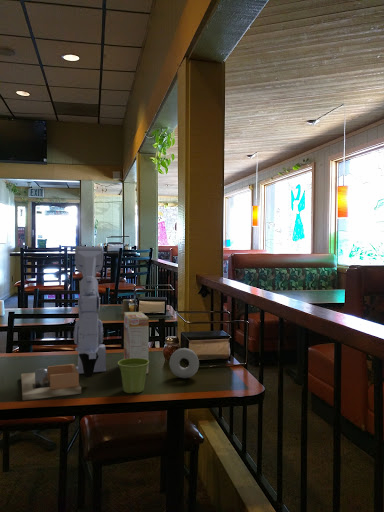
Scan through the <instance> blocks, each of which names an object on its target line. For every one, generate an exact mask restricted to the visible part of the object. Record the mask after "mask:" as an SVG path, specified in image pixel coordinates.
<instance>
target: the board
mask: <svg viewBox="0 0 384 512" xmlns="http://www.w3.org/2000/svg"><path fill="white" fill-rule="evenodd" d="M20 375H21V376H20V377H21V379H20V380H21V396H22V397H21V398H22V401H30V400H38V399H46V398H53V397H62V396H63V397H64V396H70V395H71V396H72V395H78V394H82V386H81V385H80V383H79V386H77V387H69V388H60V389H51V390H50V380H48V387H45V388H36V389H35V372H27V373H21V374H20Z"/></svg>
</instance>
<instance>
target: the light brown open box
mask: <svg viewBox="0 0 384 512" xmlns="http://www.w3.org/2000/svg"><path fill="white" fill-rule="evenodd" d="M76 367H77V366H76V365H75V363H68V364H60V365H59V364H57V365H48V366H47V369H48V380H50V390H51V389H60V388H69V387H77V386H79V384H80V383H79V381H80V374H79V372H78V370H77V369H76Z"/></svg>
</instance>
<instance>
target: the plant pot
mask: <svg viewBox="0 0 384 512" xmlns="http://www.w3.org/2000/svg"><path fill="white" fill-rule="evenodd" d="M149 363H150V360H149V359H148V360H147V359H143V358H129V359H124V358H122V359H120V360H118V361H117V365H118V366H119V367H118V368H119V370H120V375H121V381H122V382H121V383H122V389H123V390H122V391H123V392H125V393H127V394H133V393H136V394H138V393H141V392H143V391H144V390H145V382H146V375H147V374H146V369H147V366H148V367H149Z"/></svg>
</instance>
